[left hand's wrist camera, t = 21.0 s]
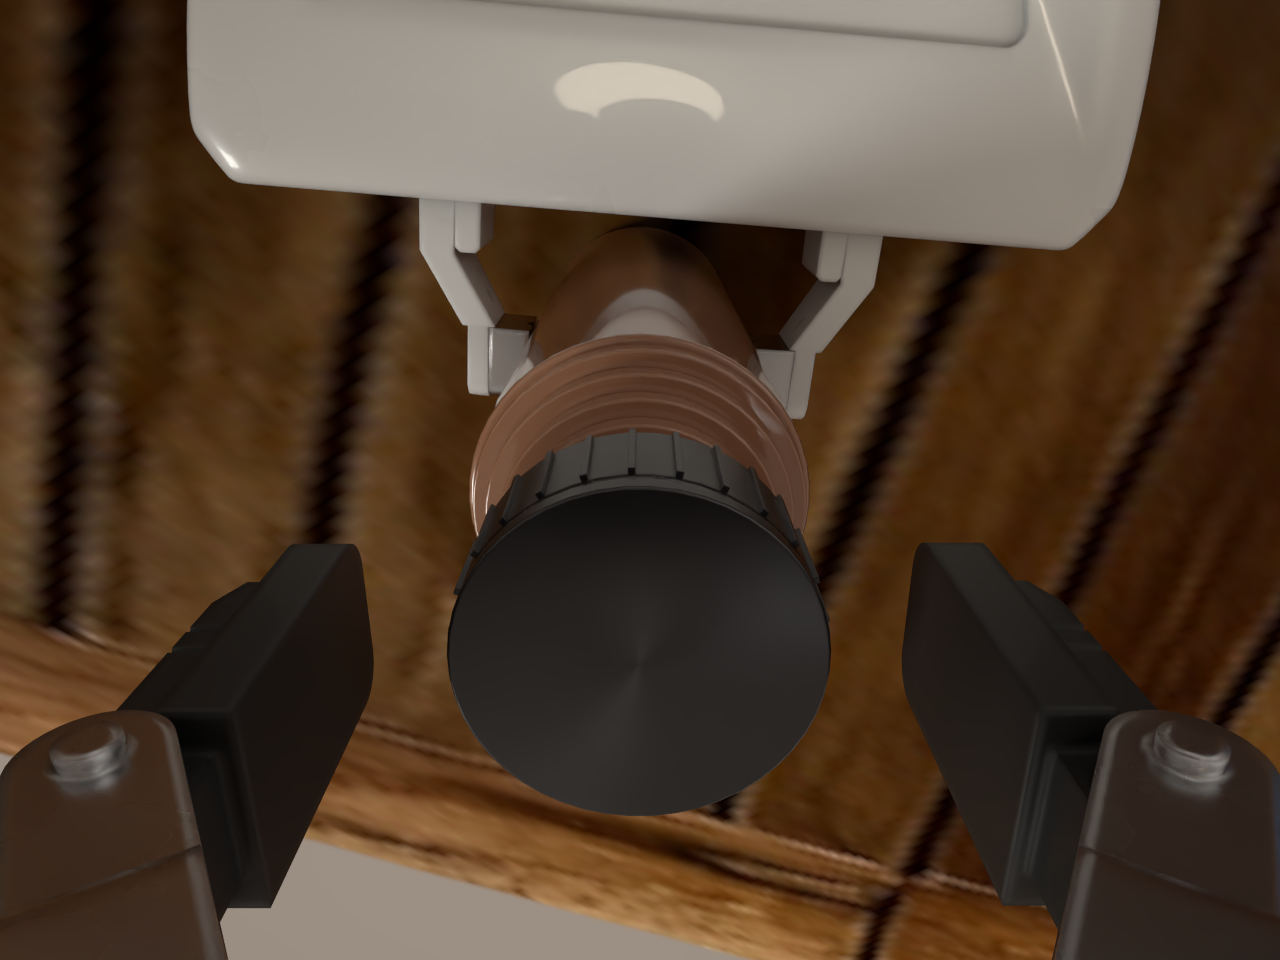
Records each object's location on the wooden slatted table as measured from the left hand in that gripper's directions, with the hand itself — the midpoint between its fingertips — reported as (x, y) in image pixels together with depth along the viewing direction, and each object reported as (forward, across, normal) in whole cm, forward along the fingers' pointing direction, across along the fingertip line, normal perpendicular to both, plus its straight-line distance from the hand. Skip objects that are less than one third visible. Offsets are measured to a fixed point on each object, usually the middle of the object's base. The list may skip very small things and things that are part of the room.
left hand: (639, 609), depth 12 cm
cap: (-1, 0, 0) cm, 1 cm away
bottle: (+19, 0, 0) cm, 19 cm away
